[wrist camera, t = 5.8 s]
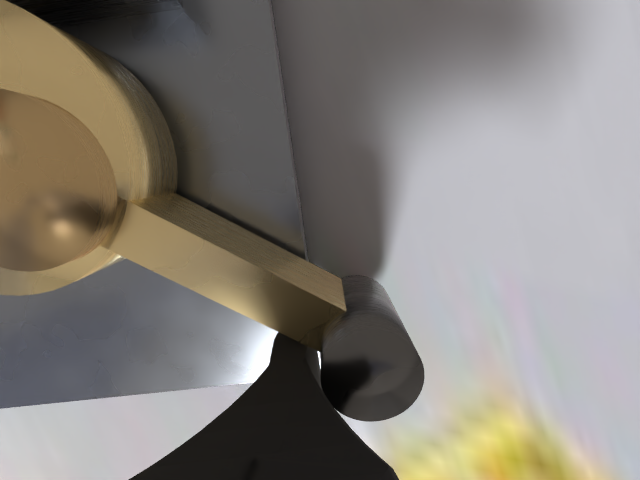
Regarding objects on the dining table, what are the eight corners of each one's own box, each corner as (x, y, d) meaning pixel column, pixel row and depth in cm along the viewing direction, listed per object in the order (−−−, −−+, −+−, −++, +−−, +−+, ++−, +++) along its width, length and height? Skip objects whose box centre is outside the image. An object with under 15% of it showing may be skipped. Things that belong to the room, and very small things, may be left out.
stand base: (-35, 396, 13) (-157, 473, 10) (-233, -21, 9) (-532, -124, 6) (322, 359, 12) (322, 427, 9) (256, -106, 9) (215, -273, 5)
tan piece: (-68, 205, 10) (-290, 226, 6) (-18, -15, 8) (-271, -153, 5) (337, 396, 11) (343, 499, 8) (440, 238, 10) (506, 276, 6)
